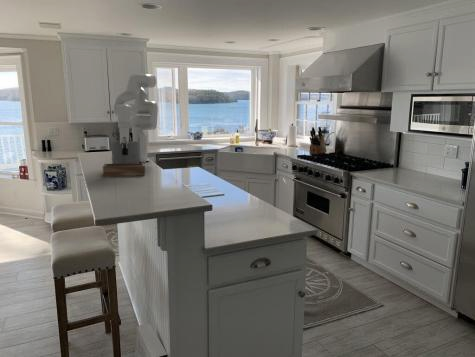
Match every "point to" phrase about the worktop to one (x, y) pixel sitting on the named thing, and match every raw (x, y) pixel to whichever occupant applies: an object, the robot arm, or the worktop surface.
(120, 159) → the hip flask
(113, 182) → the worktop surface
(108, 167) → the u rest
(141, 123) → the robot arm
